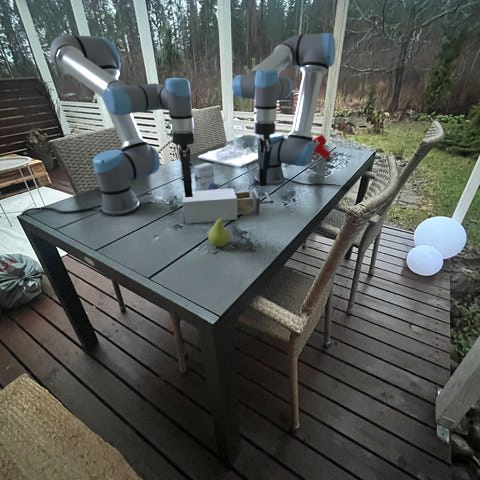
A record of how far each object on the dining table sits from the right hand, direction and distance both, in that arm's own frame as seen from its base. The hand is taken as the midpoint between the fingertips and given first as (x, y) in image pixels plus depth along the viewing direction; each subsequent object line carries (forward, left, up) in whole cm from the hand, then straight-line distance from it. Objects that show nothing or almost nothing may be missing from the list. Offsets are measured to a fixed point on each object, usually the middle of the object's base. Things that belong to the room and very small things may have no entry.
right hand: (262, 185), depth 108 cm
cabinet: (+19, +10, -12) cm, 24 cm away
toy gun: (-13, -85, -12) cm, 87 cm away
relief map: (+39, -71, -12) cm, 82 cm away
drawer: (+8, +4, -11) cm, 14 cm away
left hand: (+26, +13, 0) cm, 29 cm away
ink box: (+33, -16, -12) cm, 39 cm away
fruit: (+7, +29, -12) cm, 32 cm away
